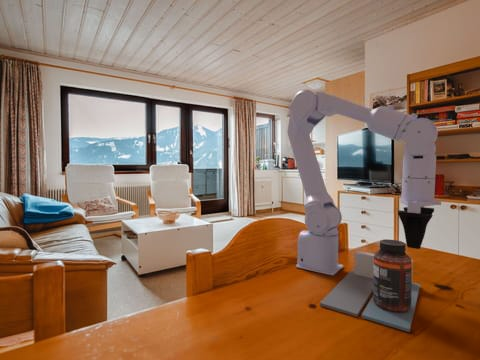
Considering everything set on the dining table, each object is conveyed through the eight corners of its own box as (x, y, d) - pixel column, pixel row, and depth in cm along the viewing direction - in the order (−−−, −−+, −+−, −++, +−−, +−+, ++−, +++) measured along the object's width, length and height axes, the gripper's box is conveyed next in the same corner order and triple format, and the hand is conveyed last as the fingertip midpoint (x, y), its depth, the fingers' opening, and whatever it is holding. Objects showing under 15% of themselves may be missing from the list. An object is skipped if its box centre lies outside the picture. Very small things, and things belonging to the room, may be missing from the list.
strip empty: (319, 305, 50) (320, 275, 49) (351, 272, 67) (352, 249, 66) (357, 317, 46) (358, 284, 46) (381, 278, 63) (381, 254, 63)
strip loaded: (361, 317, 46) (362, 284, 46) (384, 278, 63) (384, 254, 62) (409, 332, 42) (410, 296, 41) (420, 286, 58) (420, 260, 58)
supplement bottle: (408, 301, 50) (410, 240, 50) (413, 317, 45) (415, 248, 45) (372, 295, 53) (373, 236, 53) (372, 309, 48) (374, 243, 47)
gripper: (441, 179, 49) (438, 256, 49) (442, 178, 60) (439, 240, 61) (396, 178, 53) (393, 248, 53) (405, 177, 64) (402, 235, 65)
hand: (415, 243), depth 57 cm, fingers open, 7 cm apart
